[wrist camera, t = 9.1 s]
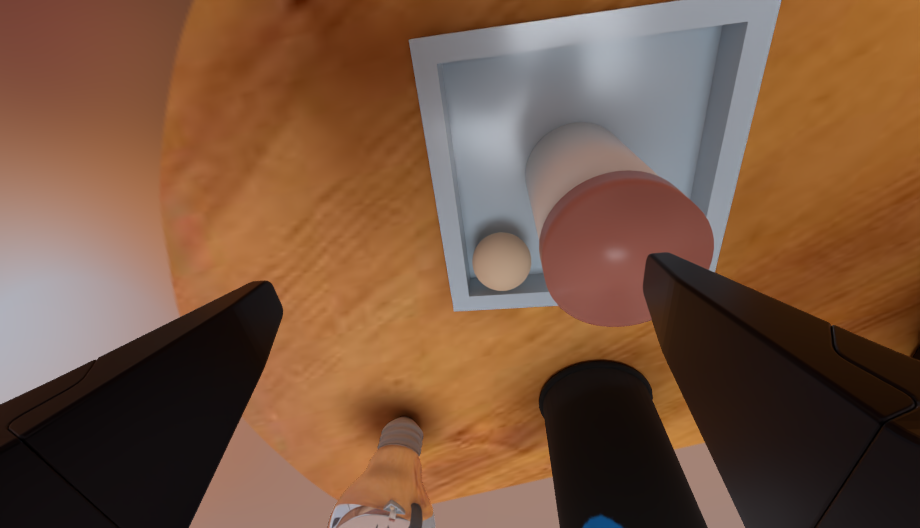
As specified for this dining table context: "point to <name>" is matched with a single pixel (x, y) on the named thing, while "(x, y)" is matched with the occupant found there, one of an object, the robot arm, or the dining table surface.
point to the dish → (585, 114)
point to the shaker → (606, 223)
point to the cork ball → (501, 261)
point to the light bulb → (388, 485)
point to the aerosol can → (612, 452)
